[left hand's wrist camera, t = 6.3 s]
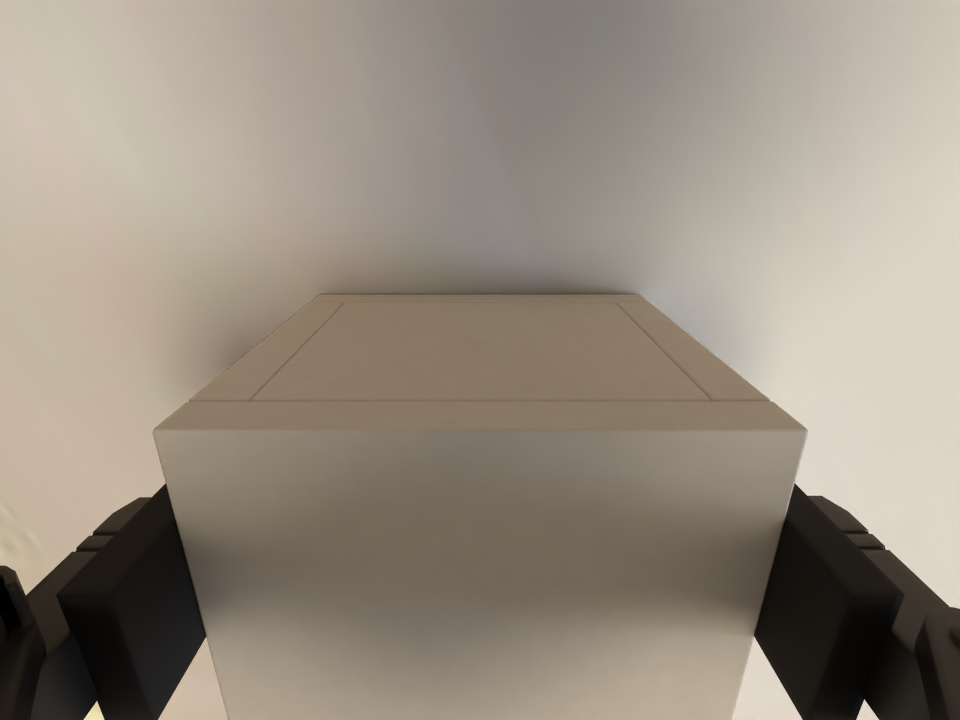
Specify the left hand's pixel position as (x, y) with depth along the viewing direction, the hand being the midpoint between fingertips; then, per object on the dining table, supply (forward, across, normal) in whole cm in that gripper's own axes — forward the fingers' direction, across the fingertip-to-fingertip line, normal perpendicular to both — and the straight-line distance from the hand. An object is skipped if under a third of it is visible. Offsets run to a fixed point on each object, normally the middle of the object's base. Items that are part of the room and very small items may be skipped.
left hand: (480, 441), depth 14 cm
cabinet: (+4, 0, -6) cm, 7 cm away
